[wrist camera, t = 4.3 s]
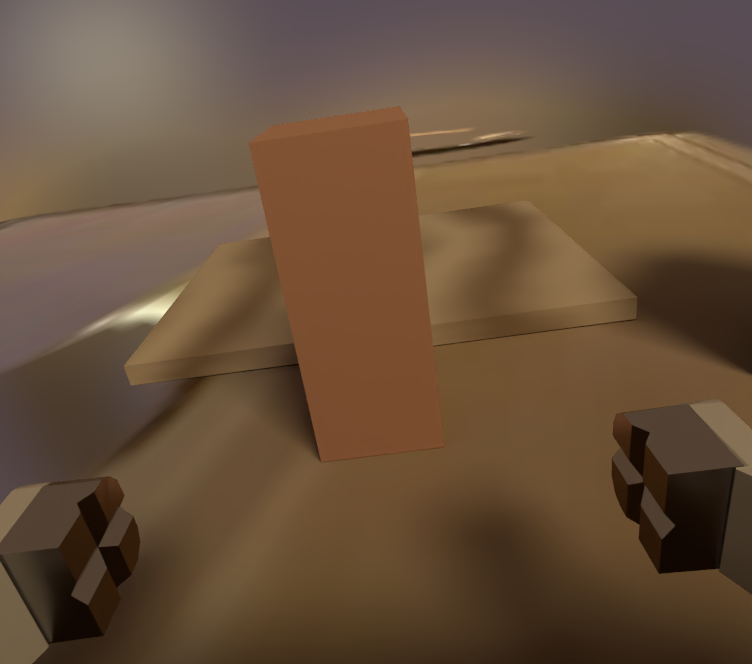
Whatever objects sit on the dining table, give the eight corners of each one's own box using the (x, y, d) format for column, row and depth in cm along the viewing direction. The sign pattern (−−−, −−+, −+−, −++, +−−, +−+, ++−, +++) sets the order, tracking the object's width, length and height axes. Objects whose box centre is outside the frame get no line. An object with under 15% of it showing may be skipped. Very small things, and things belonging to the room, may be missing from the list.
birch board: (131, 385, 25) (123, 366, 25) (223, 257, 42) (219, 244, 41) (636, 318, 24) (637, 297, 24) (528, 214, 41) (527, 200, 40)
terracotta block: (321, 462, 19) (248, 142, 14) (328, 396, 22) (272, 125, 18) (444, 446, 18) (407, 118, 14) (431, 383, 22) (399, 106, 18)
